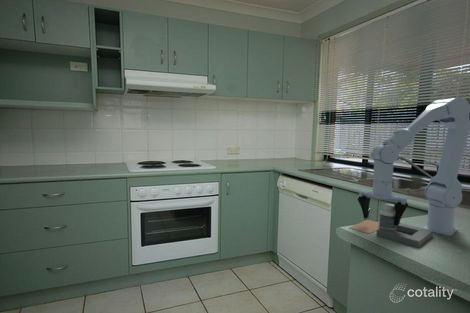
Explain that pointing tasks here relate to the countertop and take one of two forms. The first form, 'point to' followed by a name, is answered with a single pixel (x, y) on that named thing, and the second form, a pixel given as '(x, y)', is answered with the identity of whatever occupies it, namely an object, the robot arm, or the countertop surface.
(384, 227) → the pill bottle
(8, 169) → the countertop surface
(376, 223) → the rubber pad
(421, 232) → the socket dock
